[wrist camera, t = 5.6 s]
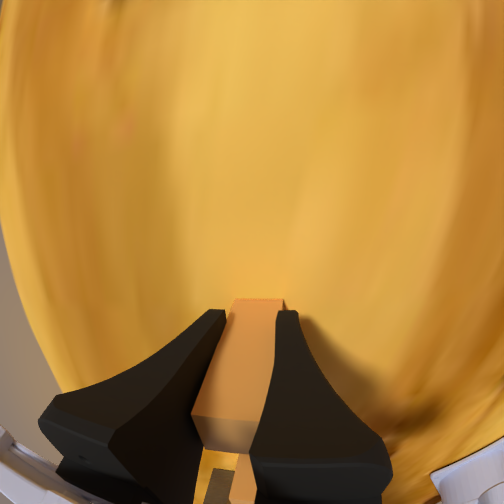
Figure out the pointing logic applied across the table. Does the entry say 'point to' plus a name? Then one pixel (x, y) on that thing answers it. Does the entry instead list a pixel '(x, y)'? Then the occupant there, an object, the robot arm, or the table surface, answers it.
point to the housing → (219, 487)
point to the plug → (238, 388)
